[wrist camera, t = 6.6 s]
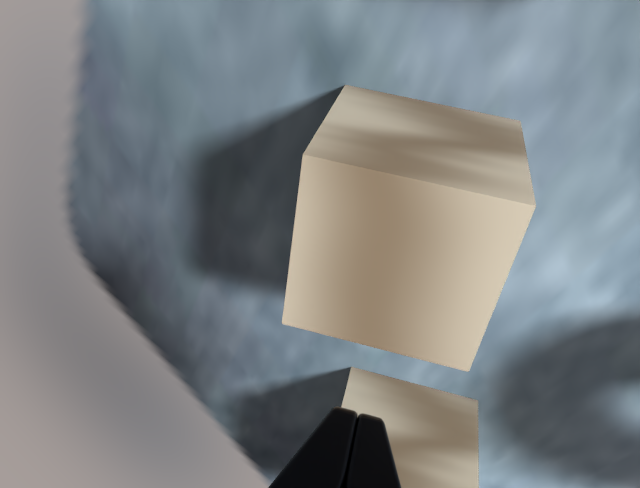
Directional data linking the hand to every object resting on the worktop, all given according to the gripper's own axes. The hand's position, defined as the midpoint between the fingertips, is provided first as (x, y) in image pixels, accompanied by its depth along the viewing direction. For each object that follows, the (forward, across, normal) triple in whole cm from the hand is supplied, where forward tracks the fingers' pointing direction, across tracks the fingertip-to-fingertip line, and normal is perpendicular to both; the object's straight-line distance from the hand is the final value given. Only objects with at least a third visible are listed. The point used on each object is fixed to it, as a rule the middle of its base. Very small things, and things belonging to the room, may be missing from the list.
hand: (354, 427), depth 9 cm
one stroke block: (+10, -2, +11) cm, 15 cm away
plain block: (+10, 0, 0) cm, 10 cm away
